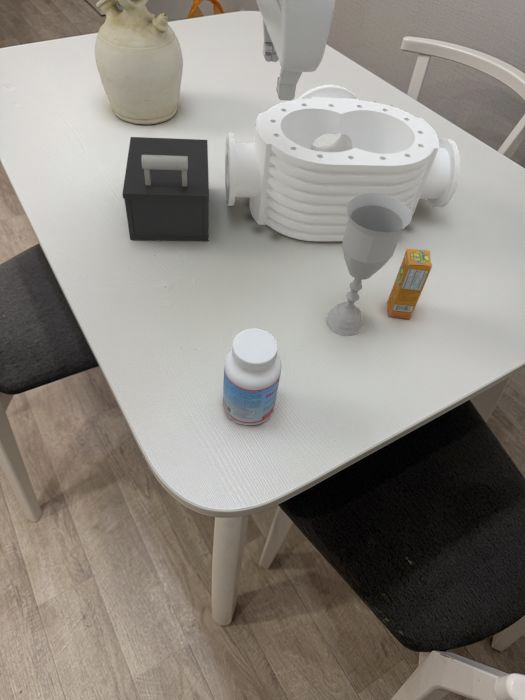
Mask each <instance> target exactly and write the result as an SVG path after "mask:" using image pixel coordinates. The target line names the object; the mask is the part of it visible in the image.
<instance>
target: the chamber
mask: <svg viewBox="0 0 525 700" xmlns="http://www.w3.org/2000/svg"><path fill="white" fill-rule="evenodd" d="M123 199H124V198H123ZM124 206H125V214H126V221H127V226H128V233H129V240H130V241H179V242H180V241H183V242H209V239H210V237H209V235H210V233H209V232H210V230H209V229H210V227H209V226H210V225H209V223H210V221H209V219H210V215H209V214H210V213H209V212H210V200H209V201H206V200H164V199H124Z"/></svg>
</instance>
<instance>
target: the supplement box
mask: <svg viewBox="0 0 525 700" xmlns="http://www.w3.org/2000/svg"><path fill="white" fill-rule="evenodd" d="M432 267H433V263H432V262H431V250H429V249H417V248H406V250H405V252H404V255H403V258H402V261H401V264H400V266H399V269H398V271H397V275H396V276H395V277H396V278H395V280H394V282H393V286H392V288H391V291H390V294H389V297H388V298H387V304H386V305H387V314H388V317H389V318H397V319H405V320H410V319H411V318H412V316H413V314H414V311H415V310H416V306H417V305H418V302H419V299H420V297H421V295H422V293H423V291H424V288H425V286H426V282H427V280H428V277H429V276H430V272H431V270H432Z"/></svg>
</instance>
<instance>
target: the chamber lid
mask: <svg viewBox="0 0 525 700" xmlns="http://www.w3.org/2000/svg"><path fill="white" fill-rule="evenodd" d="M209 183H210V182H209V149H208V139H198V138H197V139H196V138H170V137H169V138H168V137H167V138H166V137H147V136H146V137H144V136H143V137H142V136H130V139H129V147H128V152H127V159H126V167H125V173H124V180H123V188H122V199H164V200H206V201H209V202H210V187H209V185H210V184H209Z"/></svg>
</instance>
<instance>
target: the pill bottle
mask: <svg viewBox="0 0 525 700" xmlns="http://www.w3.org/2000/svg"><path fill="white" fill-rule="evenodd" d="M278 348H279V346H278V342H277V339H276V338H275V337H274V336H273V334H271V332H269V331H267V330H265V329H262V328H257V327H250V328H246V329H243V330H241V331H239V332H238V333H236V335H235V336H234V338H233V340H232V346H231V348H230V349H229V351H228V352H227V354H226V356H225V359H224V365H223V384H222V407H223V411H224V413H225V414H226V416H227V418H229V419H230V420H231V421H233V422H234V423H236V424H239V425H243V426H255V425H256V426H257V425H259V424H262V423H264V422H266V421H267V420H269V418H270V417H271V416H272V414H273V413H274V410H275V406H276V401H277V395H278V390H279V385H280V380H281V379H280V378H281V373H282V360H281V358H280V355H279V353H278V350H279V349H278Z"/></svg>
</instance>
